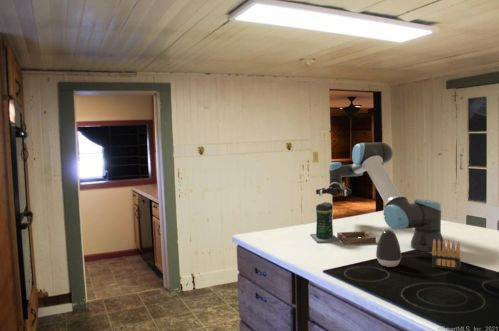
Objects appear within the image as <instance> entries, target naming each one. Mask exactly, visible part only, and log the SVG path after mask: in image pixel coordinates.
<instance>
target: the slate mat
mask: <svg viewBox="0 0 499 331" xmlns="http://www.w3.org/2000/svg"><path fill="white" fill-rule="evenodd" d="M310 237H311V238H312V239H313V240H314V242H316V243H317V244H327V243H340V242H341V241H340V240H339V239H338V238H337V235H335V234H333V236H332V237H330V238H323V239H322V238H319V237H317V236H316V233H310Z"/></svg>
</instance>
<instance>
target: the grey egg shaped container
mask: <svg viewBox="0 0 499 331" xmlns="http://www.w3.org/2000/svg"><path fill="white" fill-rule="evenodd" d="M382 231H383V232H382V233H381V234H380V236H379V239H378V241H377V242H378V243H377V246H376V253H375V257H376V259H377V262H378V264H380V265H381V266H383V267H385V266H386V268H394V267H396V266H398V265H399V264H400V262H401V259H402V251H401V247H400V242H399V240H398V237H397V235H396V233H395V232H394V231H392V230H390V229H389V230H388V229H387V230H386V229H383V230H382Z"/></svg>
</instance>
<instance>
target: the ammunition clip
mask: <svg viewBox="0 0 499 331" xmlns="http://www.w3.org/2000/svg"><path fill="white" fill-rule="evenodd" d="M460 246H461V245H460V242H459V241H457V242H456V244H455V241H454V240H452V242H450V240H447V243H446V240H445V239H443V243H442V251H441V242H440V239H439V240H438V246H437V249H436V241H435V239H434V241H433V248H432V251H431V252H432V254H431V255H432V256H431V268H433V267H441V268H451V269H460V268H461V265H462V264H461V247H460ZM441 268H440V269H441ZM461 269H462V268H461Z"/></svg>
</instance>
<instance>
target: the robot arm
mask: <svg viewBox="0 0 499 331" xmlns="http://www.w3.org/2000/svg"><path fill="white" fill-rule="evenodd" d="M351 152H352V153H351V158H352V159H351V160H352V162H353V163H351V164H342V162H340V161H339V162H337V161H336V162H330V163H329V168H328V170H329V171H328V173H329V186H328V187H326V188H325V187H322V188H318V189H316V190H315V195H318V196H320V197H322V196H323V194H328V195H331V196H333V197H335V196H339V195H341V194H344V197H346V196H347V195H352V194H353V191H352V190H353V189H350V188H348V187H344V188H343V183H342V182H343V180H342V179H343V178H344V177H346V178H347V177H359V176H363V175H364V172H367V174H368V175H369V178H370V180H371V181H372V183H373V184H374V186H375V189H376V191H377V193H379V195H380V197H381V199H382V200H383V202H384V204H385V205H384V208H383V214H382V215H383V216H384V217H383V218H384V221H385V223H386V225H387V227H389V228H391V229H393V230H400V231H401V230H406V229H414V231H413V235H412V238H411V240H410V247H411V248H412V249H414V250H417V251H422V252H432V248H433V241H434V239H435V241H436V249H437V246H438V240H439V239H440V242H441V252H442V243H443V240H444V238H443V234H442V231H441V229H442V228H441V227H442V226H441V225H442V223H441V222H442V221H441V220H442V210H441V208H442V206H441V203H440V202H438V201H436V200H429V199H421V198H417V199H416V198H415V200H414V202H410V201H409V200H408V198H407V197H406V196H404V195H403V196H402V195H401V193H400V191H399V190H398V188H397V186H396V185H395V183H394V181H393V179H392V178H391V176H390V175H389V174H390V173H389V172H388V171H387V169H386V168H385V166H384V165H385V164H387V163H389V162H390V161H391V160H392V159H393V156H394V152H393V148H392V147H391V145H389V144H388V143H386V142H382V141H381V142H379V141H378V142H360V143H357V144H355V145H354V146H353V148H352V151H351Z"/></svg>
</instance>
